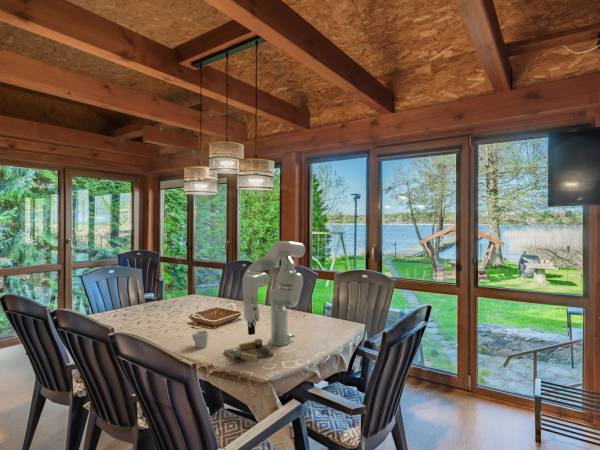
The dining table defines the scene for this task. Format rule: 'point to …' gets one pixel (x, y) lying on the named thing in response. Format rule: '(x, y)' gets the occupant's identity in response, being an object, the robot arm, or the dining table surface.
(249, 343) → the ball knob lever
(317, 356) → the dining table surface
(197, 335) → the cup
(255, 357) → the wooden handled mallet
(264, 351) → the base plate
